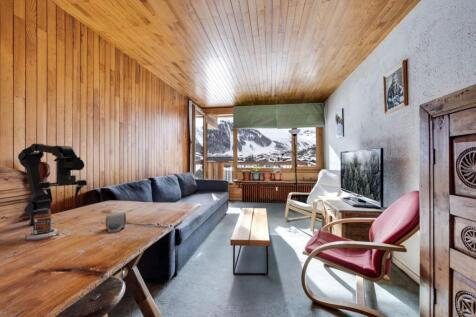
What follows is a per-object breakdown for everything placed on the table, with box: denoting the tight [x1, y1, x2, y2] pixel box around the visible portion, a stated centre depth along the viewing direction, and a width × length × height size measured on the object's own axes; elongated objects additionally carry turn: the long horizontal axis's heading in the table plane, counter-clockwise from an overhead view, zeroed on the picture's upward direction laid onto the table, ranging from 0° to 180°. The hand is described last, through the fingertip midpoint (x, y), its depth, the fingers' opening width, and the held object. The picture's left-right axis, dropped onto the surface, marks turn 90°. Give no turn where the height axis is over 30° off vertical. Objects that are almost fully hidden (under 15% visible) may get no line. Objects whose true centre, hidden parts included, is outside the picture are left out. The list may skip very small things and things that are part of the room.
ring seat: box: [24, 228, 60, 241], centre depth 95 cm, size 11×11×2 cm
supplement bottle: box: [32, 208, 52, 235], centre depth 95 cm, size 6×6×11 cm
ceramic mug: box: [105, 211, 127, 233], centre depth 104 cm, size 11×8×8 cm
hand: (63, 200), depth 108 cm, fingers open, 9 cm apart
